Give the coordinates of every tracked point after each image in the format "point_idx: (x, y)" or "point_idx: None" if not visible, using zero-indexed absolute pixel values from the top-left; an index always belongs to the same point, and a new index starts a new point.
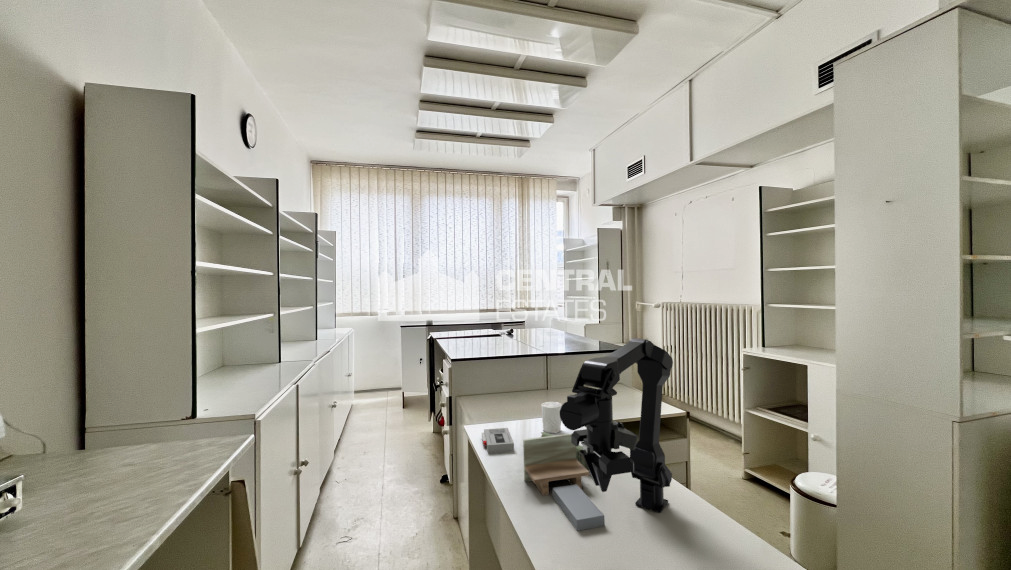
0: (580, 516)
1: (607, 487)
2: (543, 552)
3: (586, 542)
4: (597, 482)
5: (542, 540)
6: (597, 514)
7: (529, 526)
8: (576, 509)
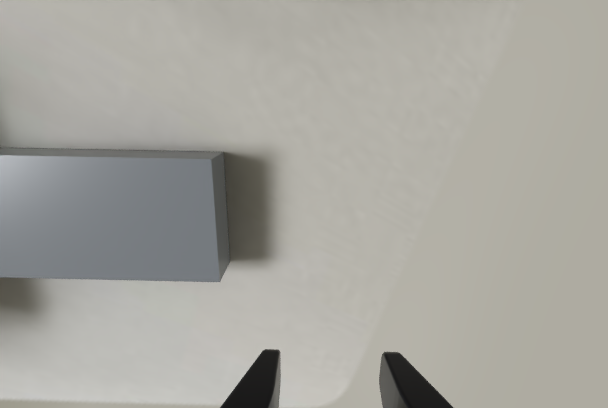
0: (198, 259)
1: (421, 378)
2: (307, 386)
3: (301, 260)
4: (277, 393)
5: None
6: (198, 186)
7: (171, 382)
8: (141, 252)
